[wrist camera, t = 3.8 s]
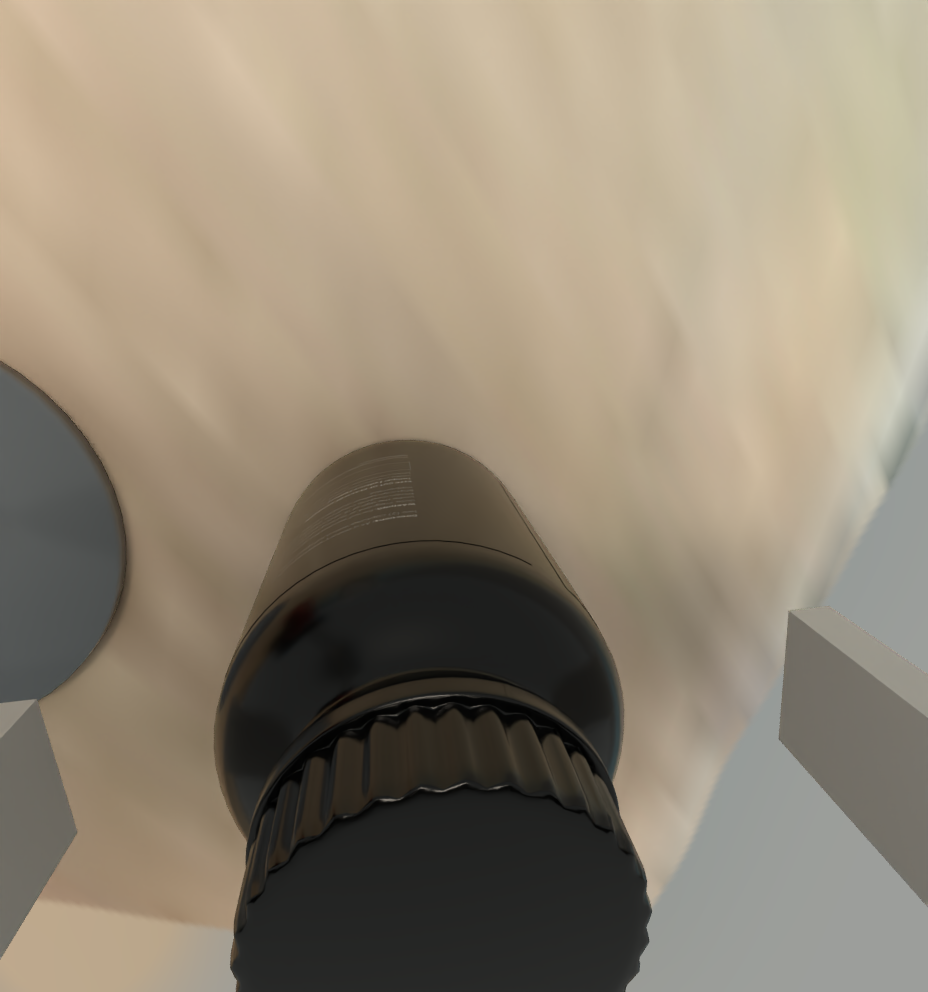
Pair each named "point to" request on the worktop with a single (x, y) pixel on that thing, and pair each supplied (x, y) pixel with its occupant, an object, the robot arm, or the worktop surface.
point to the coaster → (51, 543)
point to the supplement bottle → (425, 748)
